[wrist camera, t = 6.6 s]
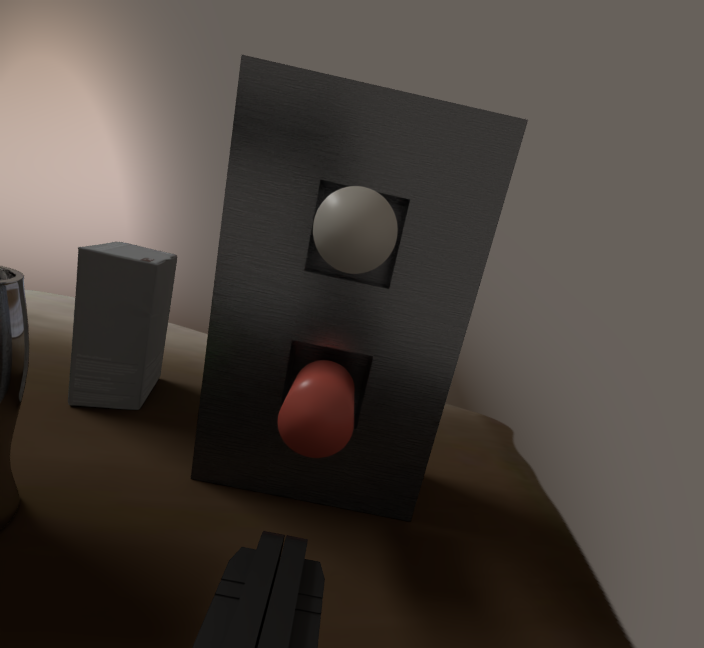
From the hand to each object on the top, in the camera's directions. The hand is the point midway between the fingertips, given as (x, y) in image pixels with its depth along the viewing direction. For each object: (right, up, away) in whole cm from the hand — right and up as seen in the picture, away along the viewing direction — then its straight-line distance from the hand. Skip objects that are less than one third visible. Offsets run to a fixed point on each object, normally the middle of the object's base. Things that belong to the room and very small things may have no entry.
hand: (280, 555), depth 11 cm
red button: (0, 0, +11) cm, 11 cm away
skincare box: (-23, 0, +26) cm, 34 cm away
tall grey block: (-2, -6, +19) cm, 20 cm away
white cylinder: (+2, +11, +9) cm, 14 cm away
